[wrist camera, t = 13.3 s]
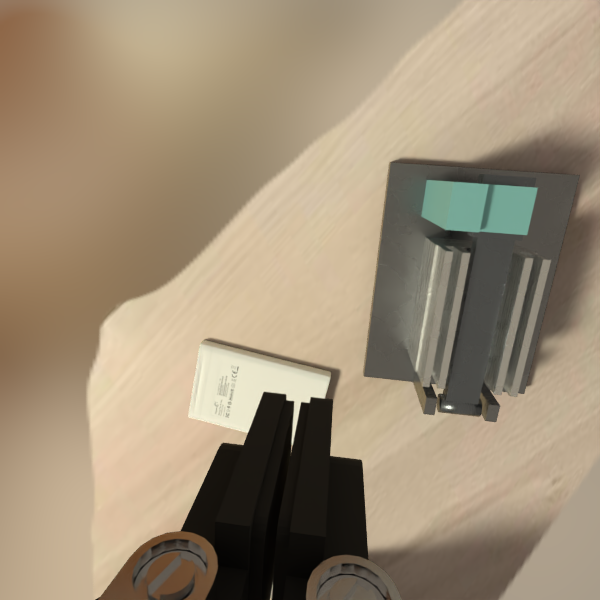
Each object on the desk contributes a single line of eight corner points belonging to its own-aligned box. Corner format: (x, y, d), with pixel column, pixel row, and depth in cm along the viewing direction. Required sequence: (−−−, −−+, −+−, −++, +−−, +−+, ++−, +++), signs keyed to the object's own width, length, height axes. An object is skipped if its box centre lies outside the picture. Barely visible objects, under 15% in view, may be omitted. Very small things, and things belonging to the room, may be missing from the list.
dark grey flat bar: (475, 410, 33) (481, 420, 32) (434, 405, 33) (438, 415, 32) (528, 177, 28) (537, 177, 26) (478, 173, 28) (484, 174, 27)
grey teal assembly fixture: (519, 388, 38) (559, 437, 31) (363, 371, 39) (367, 415, 32) (572, 175, 32) (636, 175, 25) (389, 162, 33) (401, 159, 26)
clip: (485, 221, 33) (531, 236, 25) (421, 216, 33) (445, 229, 25) (493, 184, 32) (542, 187, 24) (426, 179, 32) (453, 181, 24)
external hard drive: (311, 440, 42) (192, 410, 42) (331, 369, 40) (204, 337, 40) (310, 451, 41) (186, 419, 41) (331, 377, 38) (199, 344, 38)
